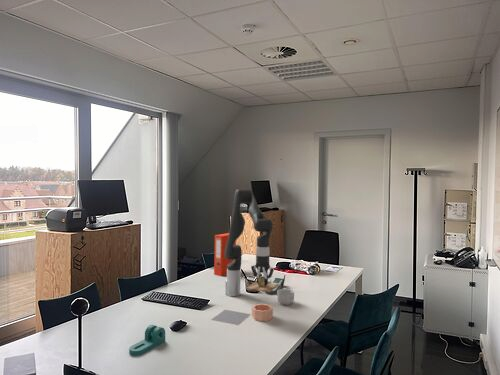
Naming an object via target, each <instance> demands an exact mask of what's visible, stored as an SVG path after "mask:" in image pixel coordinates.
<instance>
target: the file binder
mask: <svg viewBox="0 0 500 375" xmlns="http://www.w3.org/2000/svg"><path fill="white" fill-rule="evenodd" d="M228 236H229V232H227V233H221V234H214V254H213V255H214V256H213V257H214V260H213V262H214V264H213V274H214V275H215V276H218V277H223V276H227V265H228V264H230V263H231V262H233V261H234V259H231V260H228V259H226V258H225V247H226V244H227V240H228ZM234 245H237V240H236V241H235V243H234Z"/></svg>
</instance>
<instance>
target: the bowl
mask: <svg viewBox="0 0 500 375" xmlns="http://www.w3.org/2000/svg"><path fill="white" fill-rule="evenodd" d="M273 317H274V307H273V306H272V305H270V304H267V303H266V304H265V303H259V304H254V305H253V306H251V318H252V319H253V320H254V321H258V322H268V321H271V320H272V319H273Z"/></svg>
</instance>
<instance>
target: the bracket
mask: <svg viewBox="0 0 500 375" xmlns="http://www.w3.org/2000/svg"><path fill="white" fill-rule="evenodd" d="M165 342H166V329H165V328H164V327H162V326H157V325H154V324H149V325H148V326H147V327H146V329H145V331H144V339H142V340H140V341H139V342H136V343H135V344H133V345H131V346H129V348H128V350H129V352H128V354H129V355H130V356H134V357H137V356H141V355H143V354H145V353H147V352H149V351H151V350H152V349H154V348H156V347H159V345H161V344H163V343H165Z"/></svg>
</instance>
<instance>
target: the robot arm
mask: <svg viewBox="0 0 500 375" xmlns="http://www.w3.org/2000/svg"><path fill="white" fill-rule="evenodd" d="M244 204H245V205H246V204H249V207H248V215H249V216H250V218H251V220H252V223H253V229H254V231H256V232H259V233H260V232H263V233H262V234H260V235H258V236H257V237H256V249H255V251H256V253H255V264H253V265H251V267H250V268H251V272H252V274H253V277H255V278H256V281H257V283H258V277H260V276H262V275H261V274H262V273H263V276H264V277H265V286H266V285H267V284H268V281H269V279H270V278H272V276H273V274H274V271H275V267H271V265H270V254H271V253H270V238H271V233H272V230H273V227H274V226H273V225H274V224H273V221H272V219H270V218H265V215H264V213H263V212H262V210H261V209H260V207H259V206H258V203H257V200H256V197H255V194H254V193H253V191H252V189H248V188H238V189H236V190H235V193H234V197H233V208H232V215H231V219H230V225H229V230H228V233H229V236H228V240H227V244H226V247H225V258H226V259H228V260H231V259H234V261H233V262H231V263H230V264H228V265H227V275H226V280H225V295H227V296H229V297H239V296H241V272H242V271H241V266H242V256H243V251H242V246H240V245H239V244H236V245H234V243H235V241H236V242H237V240H238V238H240V237H241V235H242V234H243V232H244V229H245V225H246V221H245V218H244V215H243V213H242V212H241V205H244Z"/></svg>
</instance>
